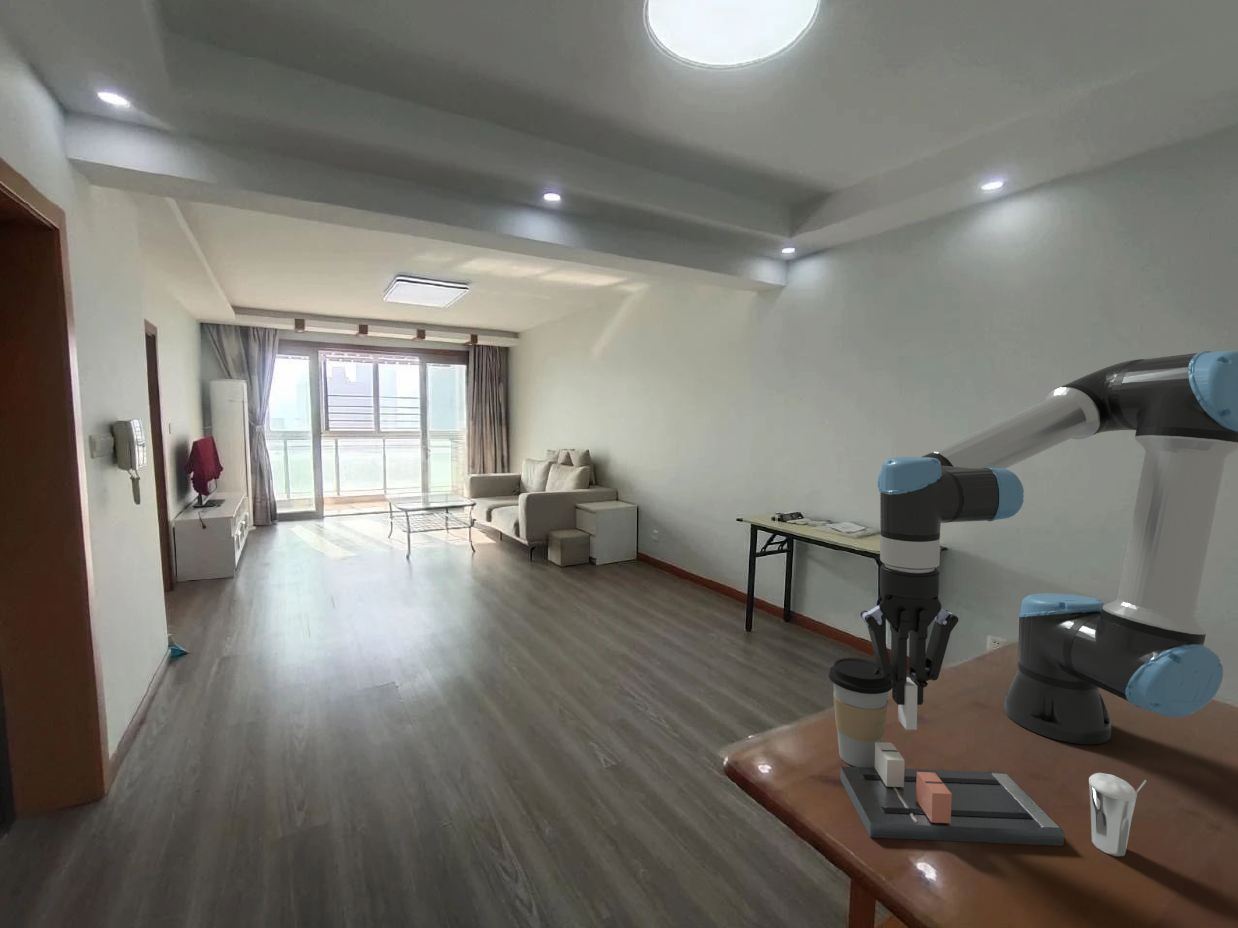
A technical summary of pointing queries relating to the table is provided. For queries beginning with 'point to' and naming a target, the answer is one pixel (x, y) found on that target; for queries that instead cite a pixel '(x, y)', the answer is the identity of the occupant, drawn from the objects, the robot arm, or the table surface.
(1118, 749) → the table surface
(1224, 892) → the table surface
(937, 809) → the fader
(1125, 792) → the milkshake
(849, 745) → the coffee cup
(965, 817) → the console
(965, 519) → the robot arm
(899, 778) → the fader
